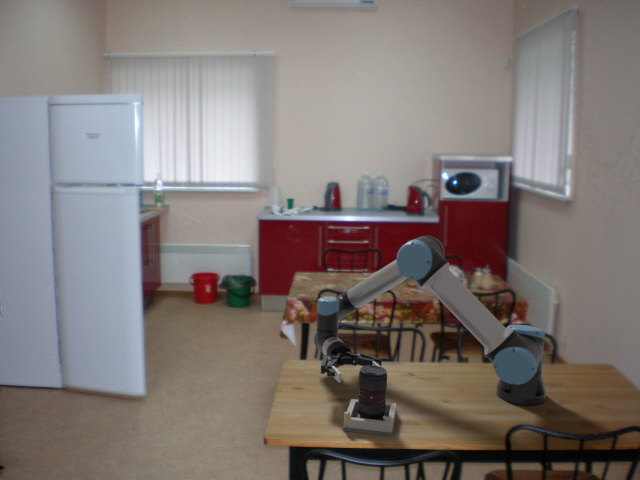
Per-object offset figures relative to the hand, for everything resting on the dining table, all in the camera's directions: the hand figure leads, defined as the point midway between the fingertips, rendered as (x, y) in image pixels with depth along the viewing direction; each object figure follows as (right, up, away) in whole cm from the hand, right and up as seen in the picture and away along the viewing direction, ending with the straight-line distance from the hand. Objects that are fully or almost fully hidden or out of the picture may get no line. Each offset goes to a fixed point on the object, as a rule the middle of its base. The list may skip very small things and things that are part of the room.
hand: (361, 375), depth 179 cm
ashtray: (+2, -12, -5) cm, 14 cm away
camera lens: (+3, -11, -5) cm, 13 cm away
